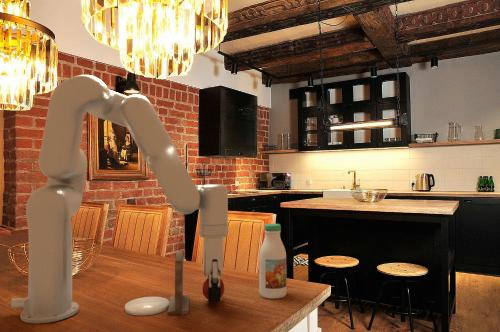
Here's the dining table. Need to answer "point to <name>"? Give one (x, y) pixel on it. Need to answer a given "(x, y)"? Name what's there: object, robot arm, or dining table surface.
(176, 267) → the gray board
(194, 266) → the dining table surface
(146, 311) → the coaster
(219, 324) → the dining table surface
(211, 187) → the robot arm
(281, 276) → the milk bottle
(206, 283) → the onion
